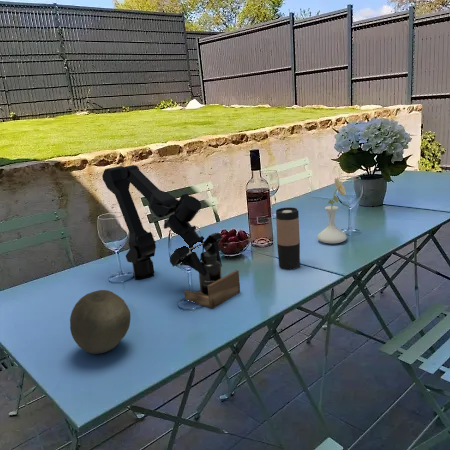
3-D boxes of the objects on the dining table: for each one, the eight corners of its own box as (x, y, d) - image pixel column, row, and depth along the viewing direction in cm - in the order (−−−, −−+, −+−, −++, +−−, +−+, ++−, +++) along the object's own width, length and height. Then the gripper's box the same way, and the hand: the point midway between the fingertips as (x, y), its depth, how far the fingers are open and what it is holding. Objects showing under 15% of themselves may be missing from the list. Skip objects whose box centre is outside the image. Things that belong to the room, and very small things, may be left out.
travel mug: (273, 267, 149) (270, 211, 144) (286, 260, 154) (284, 206, 149) (292, 271, 144) (290, 214, 138) (304, 264, 149) (303, 208, 144)
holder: (185, 300, 130) (182, 278, 128) (213, 284, 139) (211, 264, 137) (212, 308, 123) (210, 286, 121) (240, 291, 132) (238, 270, 130)
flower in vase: (335, 248, 162) (334, 182, 156) (311, 242, 171) (309, 180, 164) (355, 239, 171) (355, 176, 164) (331, 234, 179) (330, 174, 172)
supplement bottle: (207, 297, 126) (203, 259, 123) (196, 290, 132) (192, 253, 128) (227, 290, 130) (224, 253, 126) (215, 283, 135) (212, 247, 132)
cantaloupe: (78, 372, 98) (66, 313, 94) (73, 343, 110) (62, 290, 106) (139, 354, 103) (131, 297, 99) (128, 328, 116) (120, 277, 111)
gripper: (192, 237, 144) (220, 274, 140) (150, 254, 130) (179, 296, 126) (208, 217, 137) (237, 255, 133) (164, 233, 123) (196, 276, 119)
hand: (213, 270), depth 128 cm, fingers closed on supplement bottle, 7 cm apart
